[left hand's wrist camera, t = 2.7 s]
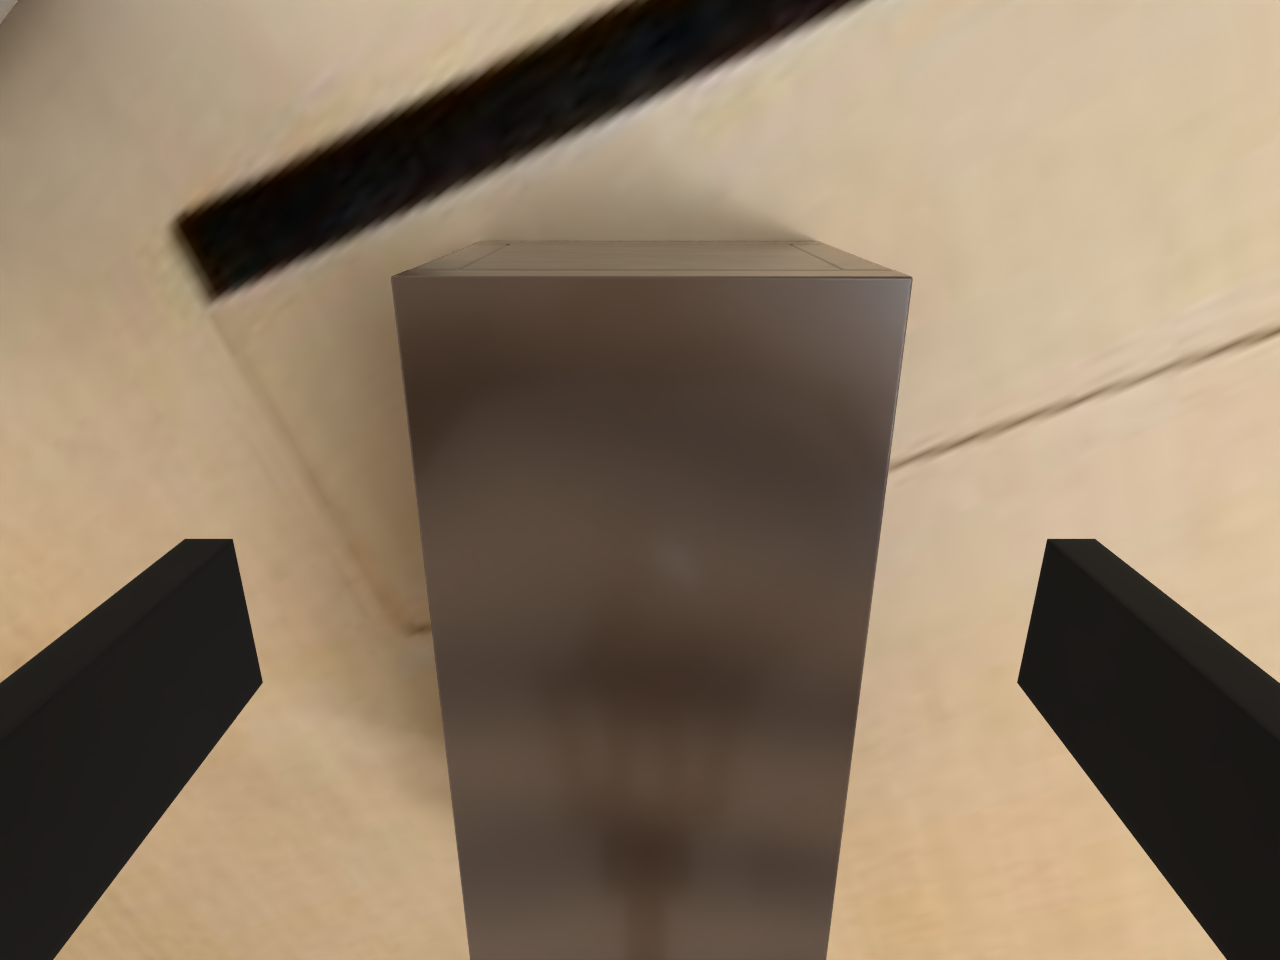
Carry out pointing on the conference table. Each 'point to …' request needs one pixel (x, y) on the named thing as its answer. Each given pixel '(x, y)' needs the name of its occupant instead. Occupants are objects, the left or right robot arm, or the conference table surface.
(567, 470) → the cabinet
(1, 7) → the projector
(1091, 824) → the conference table surface
